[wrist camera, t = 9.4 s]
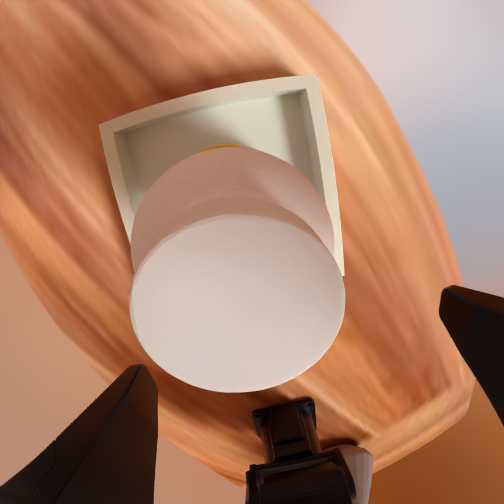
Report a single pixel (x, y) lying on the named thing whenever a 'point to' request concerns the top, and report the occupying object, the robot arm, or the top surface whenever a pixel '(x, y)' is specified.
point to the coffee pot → (358, 469)
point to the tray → (224, 138)
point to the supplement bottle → (234, 271)
